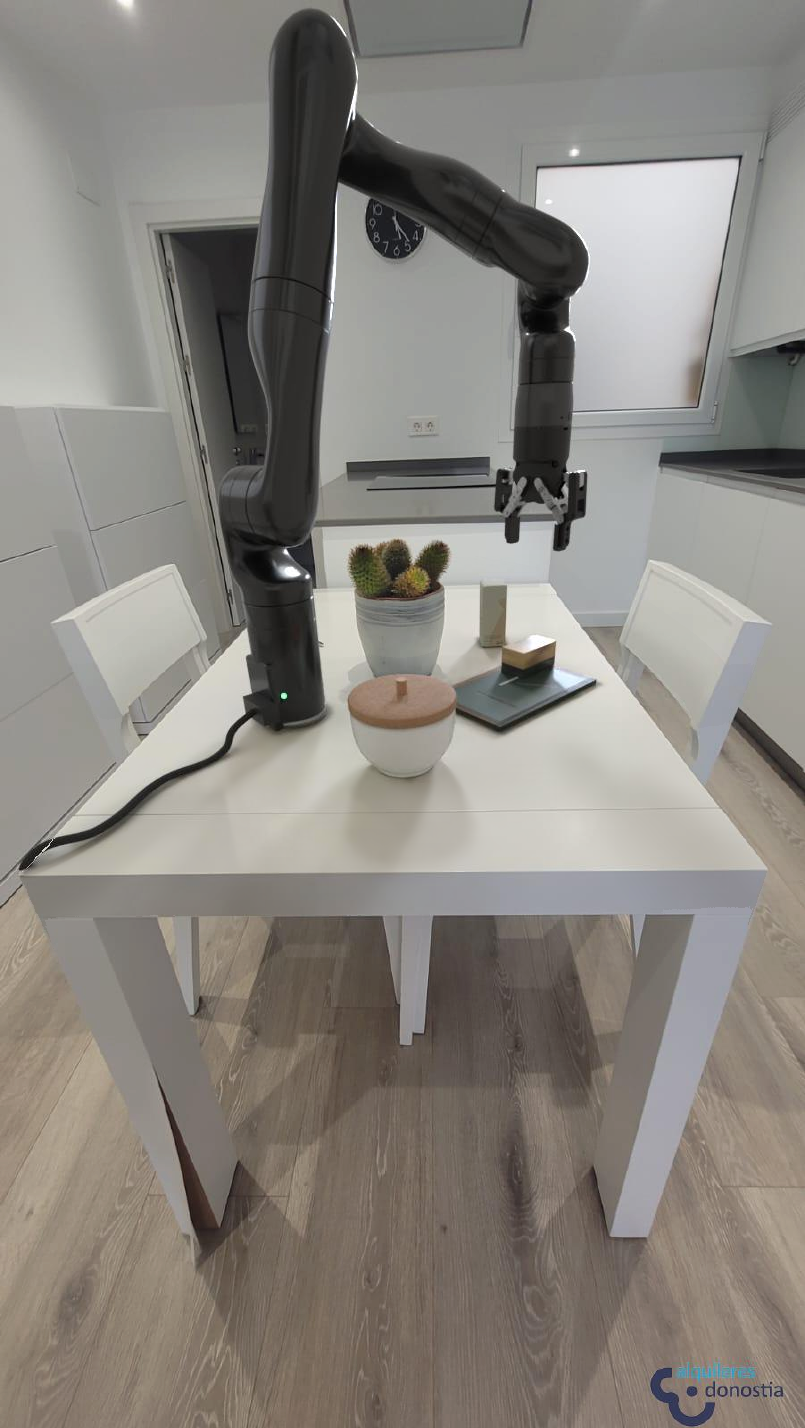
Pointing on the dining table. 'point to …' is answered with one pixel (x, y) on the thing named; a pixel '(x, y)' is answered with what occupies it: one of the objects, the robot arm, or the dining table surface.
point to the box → (493, 612)
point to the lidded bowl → (403, 722)
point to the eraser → (528, 656)
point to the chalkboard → (515, 695)
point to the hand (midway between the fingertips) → (535, 546)
